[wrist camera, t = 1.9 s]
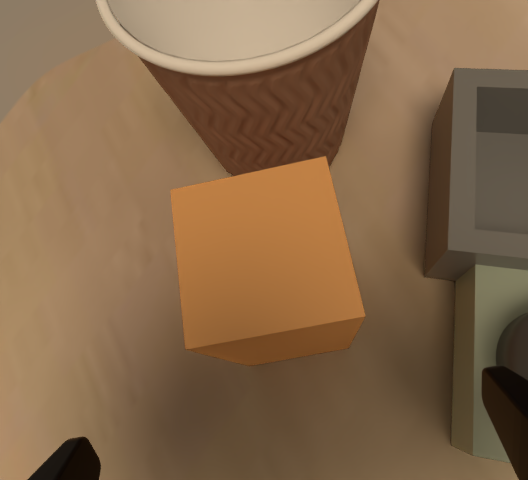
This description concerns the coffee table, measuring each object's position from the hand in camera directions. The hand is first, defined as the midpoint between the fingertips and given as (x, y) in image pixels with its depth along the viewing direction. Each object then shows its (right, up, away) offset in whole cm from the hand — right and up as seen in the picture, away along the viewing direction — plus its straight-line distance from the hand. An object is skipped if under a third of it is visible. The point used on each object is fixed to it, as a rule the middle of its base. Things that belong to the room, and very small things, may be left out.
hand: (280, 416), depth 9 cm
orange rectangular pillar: (+1, 0, +12) cm, 12 cm away
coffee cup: (+1, +10, +16) cm, 18 cm away
